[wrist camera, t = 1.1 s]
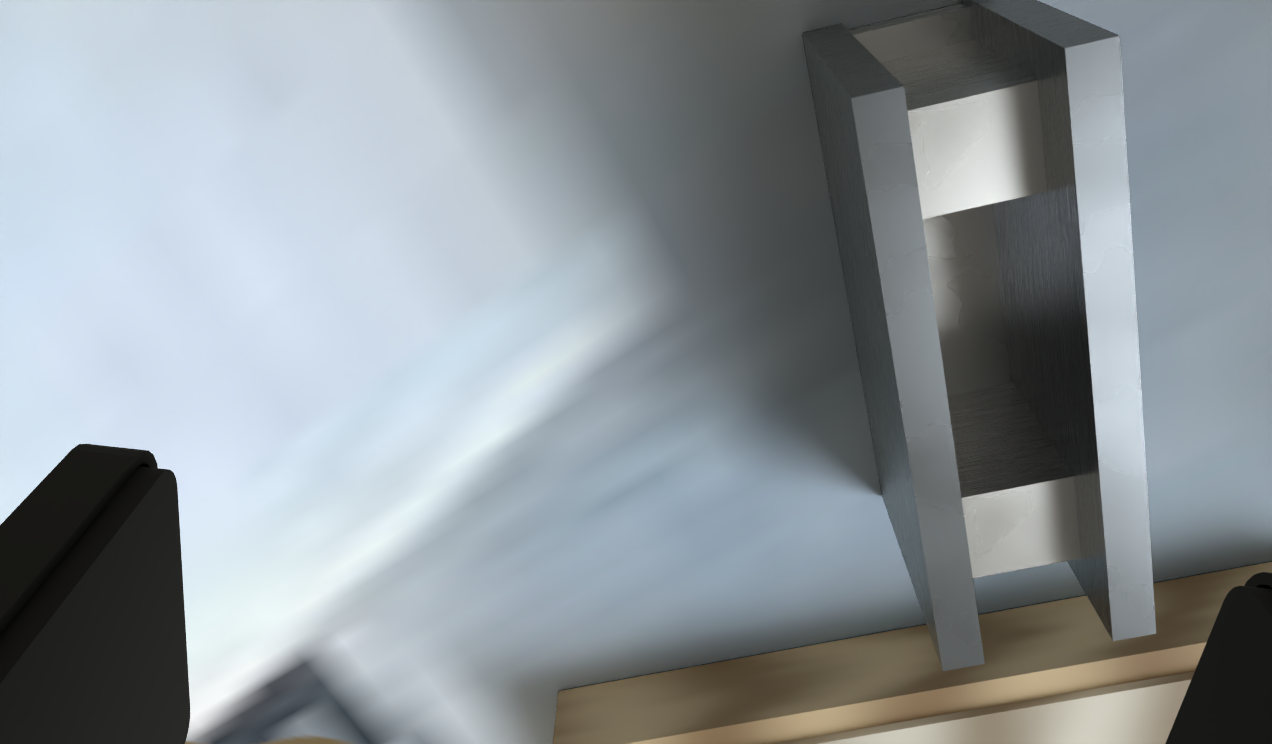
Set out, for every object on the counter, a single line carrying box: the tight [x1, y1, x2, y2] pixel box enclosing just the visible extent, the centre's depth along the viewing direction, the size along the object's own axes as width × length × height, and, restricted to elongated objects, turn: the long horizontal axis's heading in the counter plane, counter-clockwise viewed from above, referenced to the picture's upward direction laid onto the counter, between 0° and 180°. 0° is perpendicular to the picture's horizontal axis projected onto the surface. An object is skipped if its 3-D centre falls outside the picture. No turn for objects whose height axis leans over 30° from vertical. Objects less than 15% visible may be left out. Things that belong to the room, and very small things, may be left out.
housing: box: [802, 0, 1156, 671], centre depth 28 cm, size 5×14×8 cm, turn 14°
